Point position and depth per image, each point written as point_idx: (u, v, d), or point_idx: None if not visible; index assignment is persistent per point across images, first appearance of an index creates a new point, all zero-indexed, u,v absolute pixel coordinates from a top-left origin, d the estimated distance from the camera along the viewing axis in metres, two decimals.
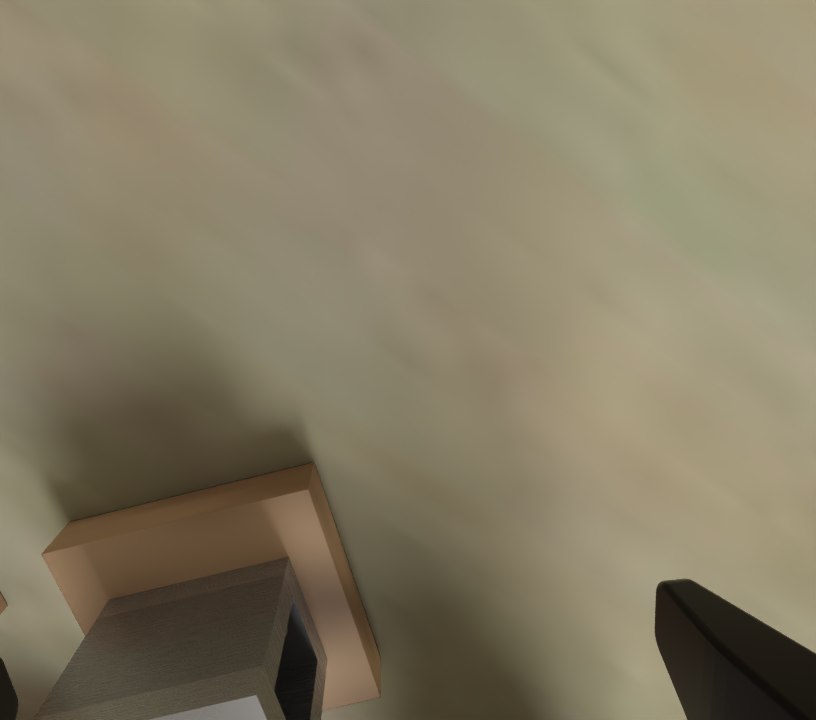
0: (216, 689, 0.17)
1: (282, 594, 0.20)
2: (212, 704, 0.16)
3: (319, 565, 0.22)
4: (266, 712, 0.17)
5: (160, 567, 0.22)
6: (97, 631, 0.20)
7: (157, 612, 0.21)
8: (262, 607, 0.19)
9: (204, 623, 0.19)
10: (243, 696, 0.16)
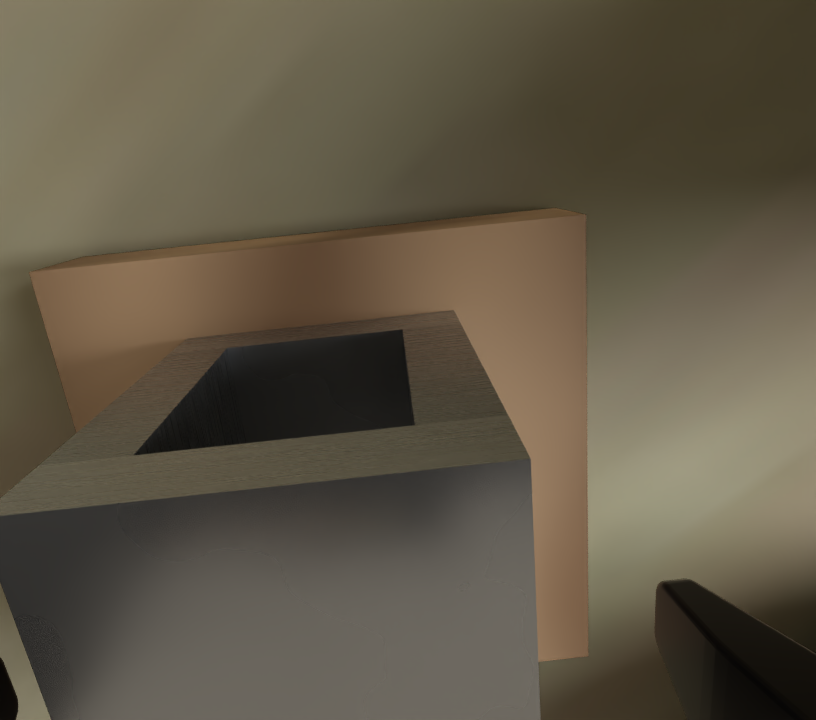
0: None
1: (161, 368, 0.09)
2: (29, 627, 0.06)
3: (213, 283, 0.11)
4: (75, 500, 0.05)
5: None
6: None
7: None
8: None
9: None
10: None
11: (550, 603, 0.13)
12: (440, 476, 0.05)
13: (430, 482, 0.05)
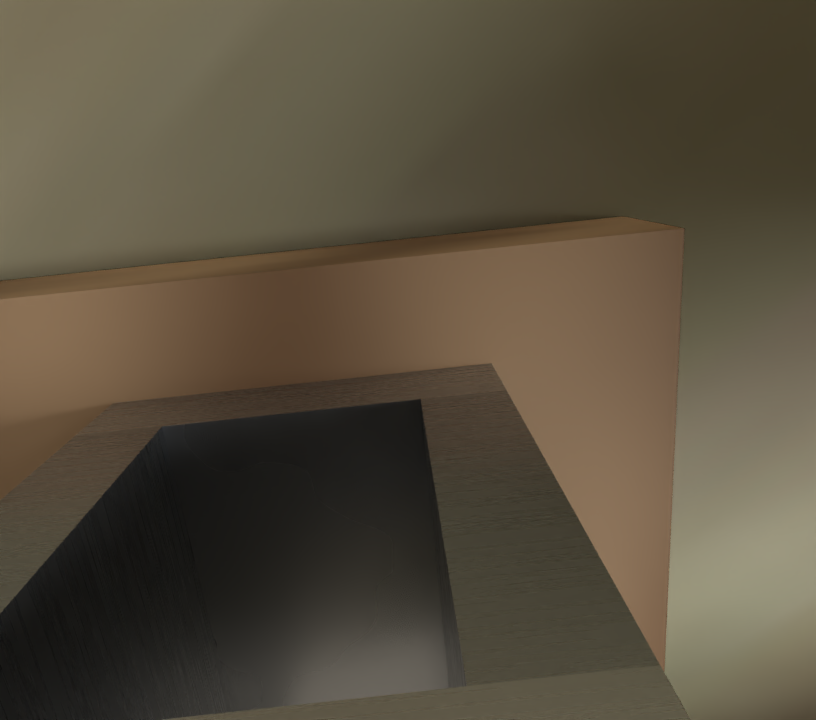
0: None
1: (52, 468, 0.06)
2: None
3: (148, 326, 0.07)
4: None
5: None
6: None
7: None
8: None
9: None
10: None
11: None
12: None
13: None
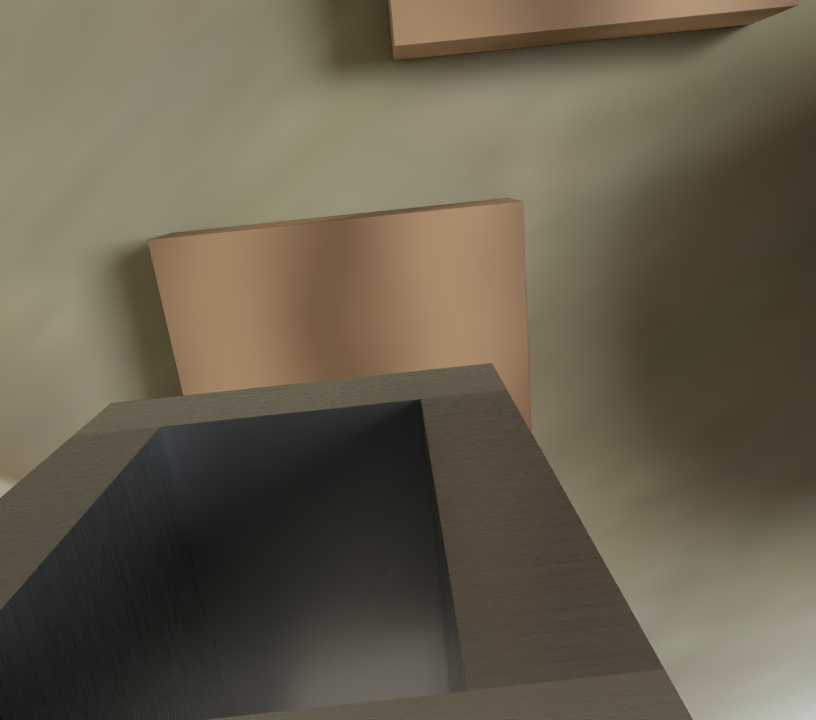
0: None
1: (49, 469, 0.06)
2: None
3: None
4: None
5: None
6: None
7: None
8: None
9: None
10: None
11: None
12: None
13: None
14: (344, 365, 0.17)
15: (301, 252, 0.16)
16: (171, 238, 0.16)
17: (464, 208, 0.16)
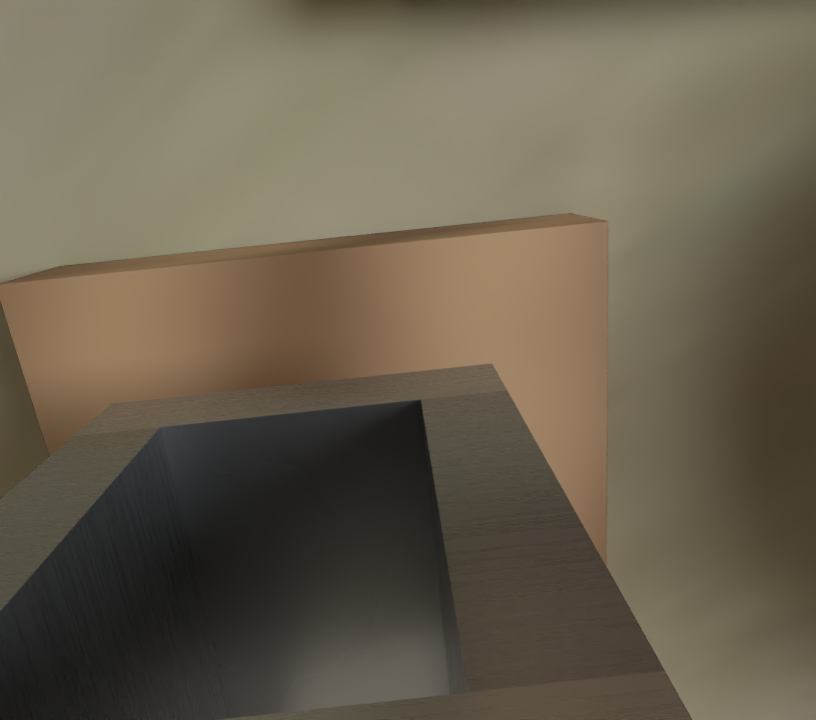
0: None
1: (49, 470, 0.06)
2: None
3: None
4: None
5: None
6: None
7: None
8: None
9: None
10: None
11: None
12: None
13: None
14: None
15: (248, 303, 0.10)
16: (35, 281, 0.10)
17: (513, 232, 0.10)
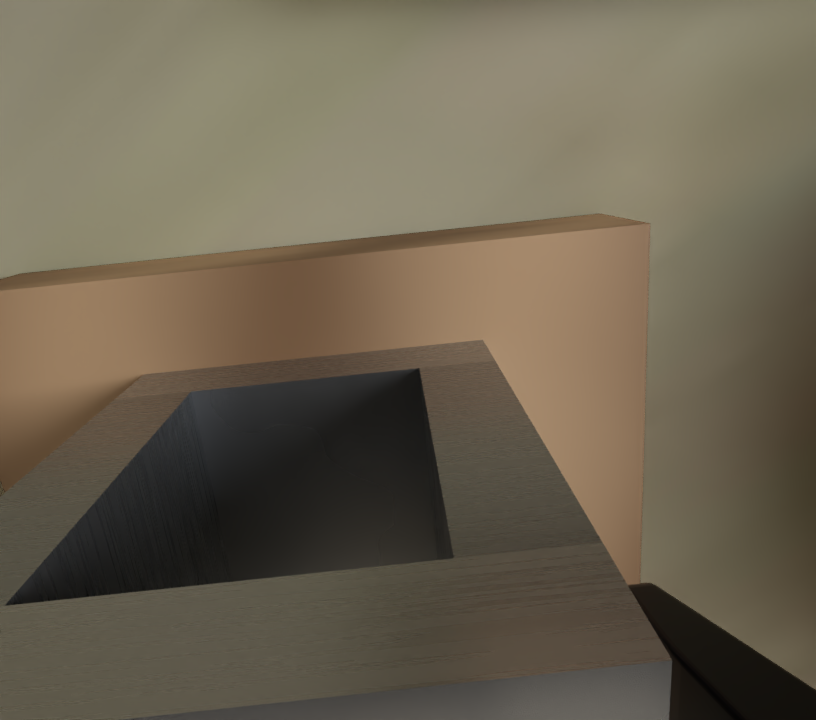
0: None
1: (99, 423, 0.07)
2: None
3: None
4: None
5: None
6: None
7: None
8: None
9: None
10: None
11: None
12: (510, 688, 0.03)
13: (492, 698, 0.03)
14: None
15: (232, 318, 0.08)
16: None
17: (540, 237, 0.08)
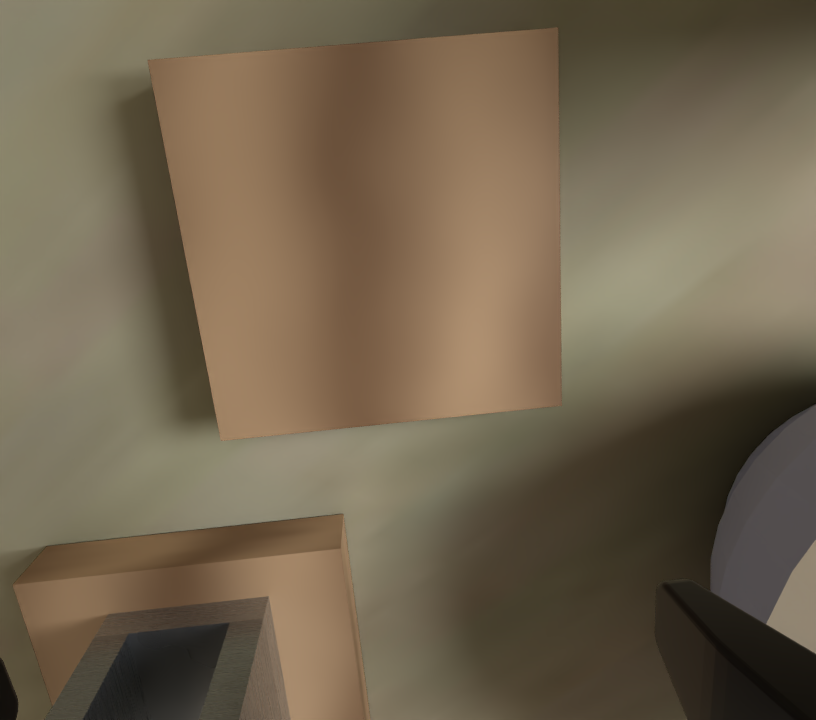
0: None
1: (87, 658, 0.17)
2: None
3: (283, 73, 0.14)
4: None
5: (258, 304, 0.16)
6: None
7: None
8: None
9: None
10: None
11: (532, 356, 0.17)
12: None
13: None
14: None
15: (149, 590, 0.18)
16: (34, 581, 0.18)
17: (290, 555, 0.18)
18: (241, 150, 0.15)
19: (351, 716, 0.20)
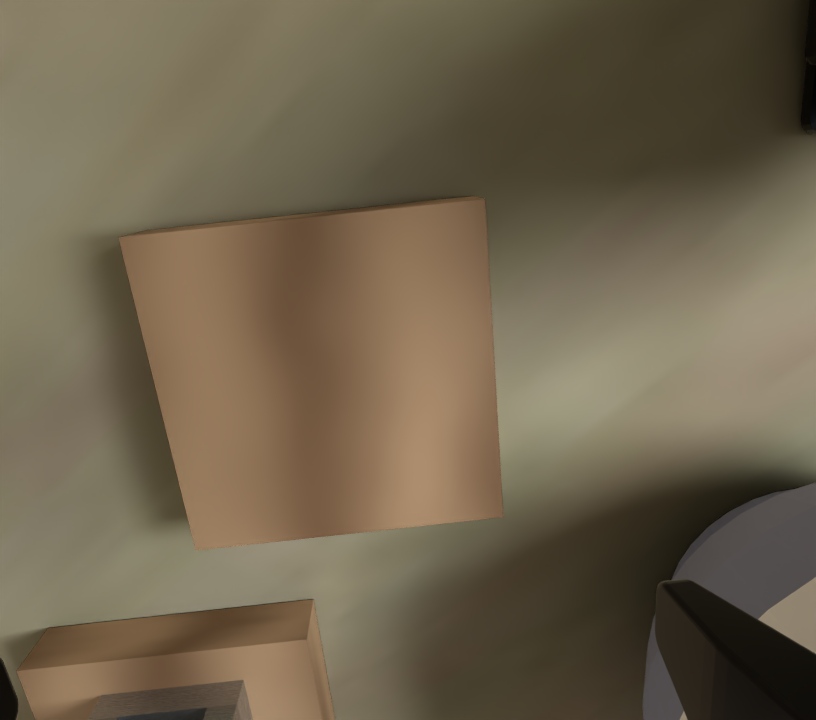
0: None
1: None
2: None
3: (239, 245, 0.16)
4: None
5: (224, 436, 0.18)
6: None
7: None
8: None
9: None
10: None
11: (473, 476, 0.19)
12: None
13: None
14: None
15: (137, 675, 0.21)
16: (35, 668, 0.20)
17: (261, 645, 0.20)
18: (204, 309, 0.17)
19: None
